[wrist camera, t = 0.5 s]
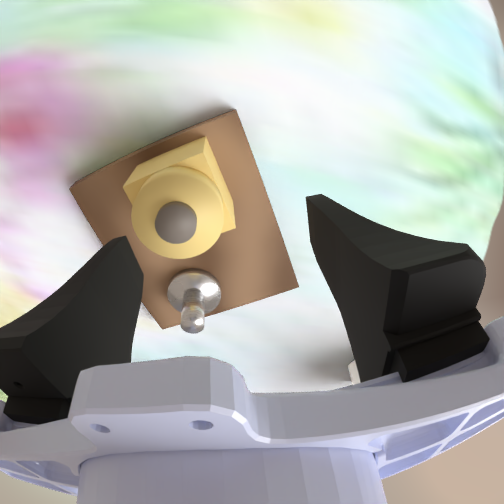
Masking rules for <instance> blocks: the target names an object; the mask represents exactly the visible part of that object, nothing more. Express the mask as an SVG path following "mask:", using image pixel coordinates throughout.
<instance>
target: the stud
mask: <svg viewBox="0 0 504 504" xmlns="http://www.w3.org/2000/svg"><path fill="white" fill-rule="evenodd" d="M167 297H168V300H169V302H170V304H171V305H172V306H173V307H174V308H175V309H176V310H177V311H179V312H181V324H180V325H181V328H182V329H183V330H184V331H185V332H188V333H198V332H200V331H202V330H203V328H204V314H207V313H209V312H211V311H213V310H214V309H215V308H216V307H217V306H218V304H219V302H220V299H221V287H220V283H219V281H218V280H217V278H216V277H215V276H214V275H213V274H211V273H210V272H208V271H206V270H203V269H198V268H188V269H184V270H181V271H179V272H177V273H176V274H175V275H174V276H173V277H172V278H171V279H170V281H169V285H168V291H167Z"/></svg>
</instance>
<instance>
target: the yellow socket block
mask: <svg viewBox="0 0 504 504" xmlns="http://www.w3.org/2000/svg"><path fill="white" fill-rule="evenodd" d="M123 189H124V191H125V193H126V195H127V196H128V198H129V200H130V202H131V204H132V212H131V219H132V225H133V228H134V231H135V233H136V235H137V237H138V238H139V240H140V241H141V242H142V243H143V244H144V245H145V246H146V247H147V248H148V249H150V250H151V251H153V252H154V253H156V254H158V255H161V256H164V257H167V258H173V259H186V258H191V257H195V256H197V255H200V254H202V253H204V252H205V251H207V250H208V249H209V248H211V247H212V246H213V245H214V244H215V242H216V241H217V240H218V238H219V236H220V234H221V233H224V232H226V231H229V230H232V229H235V228H236V225H235V216H234V207H233V200H232V198H231V195H230V193H229V190H228V188H227V186H226V183H225V181H224V178H223V176H222V174H221V171H220V169H219V166H218V164H217V162H216V159H215V157H214V154H213V152H212V150H211V147H210V145H209V142H208V140H207V138H206V136H205V137H202V138H199V139H197V140H194V141H192V142H190V143H187V144H185V145H182V146H180V147H177V148H175V149H173V150H170V151H168V152H166V153H164V154H161V155H159V156H157V157H154V158H152V159H150V160H148V161H146V162H143V163H141V164H139V165H137V167H136V168H135V170H134V171H133V172H132V174H131V175H130V177H129V178H128V180H127V181H126V183H125V184H124V186H123Z"/></svg>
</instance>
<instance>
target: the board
mask: <svg viewBox="0 0 504 504" xmlns="http://www.w3.org/2000/svg"><path fill="white" fill-rule="evenodd" d="M205 136H206V138H207V140H208V142H209V145H210V147H211V150H212V152H213V154H214V157H215V159H216V162H217V164H218V166H219V169H220V171H221V174H222V176H223V178H224V181H225V183H226V186H227V188H228V190H229V193H230V195H231V198H232V200H233V207H234V216H235V225H236V228H235V229H232V230H229V231H226V232H224V233H221V234H220V236H219V238H218V240H217V241H216V242H215V244H214V245H213V246H212V247H211V248H209V249H208V250H207V251H205V252H204V253H202V254H200V255H197V256H195V257H191V258H186V259H173V258H167V257H164V256H161V255H158V254H156V253H154V252H153V251H151V250H150V249H148V248H147V247H146V246H145V245H144V244H143V243H142V242H141V241H140V240H139V238H138V237H137V235H136V233H135V231H134V228H133V225H132V219H131V212H132V204H131V202H130V200H129V198H128V196H127V195H126V193H125V191H124V189H123V186H124V184H125V183H126V181H127V180H128V178H129V177H130V175H131V174H132V172H133V171H134V170H135V168H136V167H137V165H139V164H141V163H143V162H146V161H148V160H150V159H152V158H154V157H157V156H159V155H161V154H164V153H166V152H168V151H170V150H173V149H175V148H177V147H180V146H182V145H185V144H187V143H190V142H192V141H194V140H197V139H199V138H202V137H205ZM69 189H70V191H71V193H72V195H73V196H74V198H75V200H76V202H77V203H78V205H79V207H80V208H81V210H82V212H83V214H84V215H85V217H86V218H87V220H88V222H89V223H90V225H91V227H92V228H93V230H94V232H95V233H96V235H97V236H98V238H99V239H100V241H101V243H102V244H103V246H104V245H105V244H107V243H108V242H109V241H110V240H112V239H114V238H118V237H122V236H126V237H127V239H128V241H129V243H130V246H131V248H132V250H133V252H134V255H135V257H136V259H137V261H138V263H139V265H140V268H141V270H142V272H143V274H144V281H143V294H142V300H141V301H142V303H143V304H144V305H145V307H146V308H147V310H148V311H149V312H150V314H151V315H152V316H153V318H154V319H155V320H156V322H157V323H158V324H159V326H160V327H161V328H162V329H166V328H169V327H173V326H176V325H180V324H181V312H179V311H177V310H176V309H175V308H174V307H173V306H172V305H171V304H170V302H169V300H168V297H167V291H168V285H169V281H170V279H171V278H172V277H173V276H174V275H175V274H176V273H177V272H179V271H181V270H184V269H188V268H198V269H203V270H206V271H208V272H210V273H211V274H213V275H214V276H215V277H216V278H217V280H218V281H219V283H220V287H221V299H220V302H219V304H218V306H217V307H216V308H215V309H214V310H213V311H211V312H209V313H207V314H204V317H207V316H210V315H213V314H217V313H220V312H223V311H226V310H230V309H233V308H236V307H239V306H242V305H245V304H249V303H252V302H255V301H258V300H261V299H264V298H267V297H270V296H273V295H277V294H280V293H283V292H286V291H289V290H292V289H295V288H298V287H299V285H298V282H297V279H296V276H295V273H294V270H293V267H292V264H291V261H290V258H289V256H288V253H287V250H286V247H285V244H284V241H283V238H282V235H281V232H280V229H279V226H278V224H277V221H276V218H275V215H274V212H273V209H272V206H271V204H270V201H269V198H268V195H267V192H266V190H265V187H264V184H263V181H262V178H261V176H260V173H259V170H258V167H257V165H256V162H255V159H254V156H253V154H252V151H251V148H250V146H249V143H248V140H247V138H246V135H245V132H244V130H243V127H242V124H241V122H240V119H239V116H238V114H237V111H236V110H233V111H230V112H227V113H225V114H222V115H219V116H217V117H214V118H211V119H209V120H206V121H204V122H201V123H199V124H196V125H194V126H191V127H189V128H186V129H184V130H181V131H179V132H177V133H174V134H172V135H170V136H167V137H165V138H163V139H161V140H158V141H156V142H154V143H152V144H150V145H147V146H145V147H143V148H141V149H139V150H137V151H135V152H133V153H130V154H128V155H126V156H124V157H122V158H120V159H118V160H116V161H114V162H112V163H110V164H108V165H107V166H105V167H103V168H101V169H99V170H97V171H95V172H93V173H91V174H90V175H88V176H86V177H84V178H82V179H80V180H79V181H77V182H75V183H74V184H73V185H72V186H71V187H70V188H69Z"/></svg>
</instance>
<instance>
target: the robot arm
mask: <svg viewBox="0 0 504 504" xmlns="http://www.w3.org/2000/svg"><path fill="white" fill-rule="evenodd" d="M306 204H307V213H308V223H309V233H310V242H311V245H312V248H313V251H314V254H315V257H316V260H317V263H318V265H319V267H320V269H321V271H322V273H323V275H324V277H325V279H326V281H327V284H328V286H329V288H330V290H331V292H332V294H333V296H334V298H335V300H336V302H337V305H338V307H339V310H340V312H341V315H342V318H343V321H344V325H345V328H346V331H347V334H348V338H349V341H350V344H351V348H352V351H353V355H354V359H355V362H356V366H357V370H358V374H359V378H360V382H361V383H358V384H354V385H350V386H347V387H343V388H339V389H335V390H331V391H315V392H291V393H251V392H250V391H249V390H248V388H247V385H246V383H245V380H244V378H243V376H242V375H241V374H240V373H239V372H238V371H237V370H236V369H235V368H234V367H233V366H232V365H231V364H229V363H226V362H223V361H220V360H217V359H214V358H211V357H198V356H185V357H177V358H169V359H161V360H152V361H143V362H134V363H131V351H132V343H133V337H134V332H135V328H136V323H137V318H138V314H139V309H140V304H141V300H142V294H143V281H144V274H143V272H142V270H141V268H140V265H139V263H138V261H137V259H136V257H135V255H134V252H133V250H132V248H131V246H130V243H129V241H128V239H127V237H126V236H122V237H118V238H114V239H112V240H110V241H109V242H108V243H107V244H105V245H104V246H103V247H102V248H101V249H100V250H99V251H98V252H97V253H96V254H95V255H94V256H93V257H92V258H91V259H90V260H89V261H88V262H87V263H86V264H85V265H84V266H83V267H82V268H81V269H80V270H78V271H77V272H76V273H75V274H74V275H73V276H72V277H71V278H70V279H69V280H68V281H67V282H66V283H65V284H64V285H62V286H61V287H60V288H59V289H58V290H57V291H55V292H54V293H53V294H52V295H51V296H49V297H48V298H47V299H45V300H44V301H43V302H41V303H40V304H38V305H37V306H36V307H34V308H33V309H32V310H30V311H29V312H27V313H25V314H24V315H22V316H21V317H19V318H17V319H16V320H14V321H12V322H11V323H9V324H7V325H5V326H3V327H1V328H0V389H1V390H2V391H3V392H4V393H5V394H6V395H7V396H8V399H7V402H4V401H2V400H0V471H2V472H3V473H5V474H7V475H9V476H10V477H13V478H16V479H19V480H22V481H25V482H28V483H32V484H35V485H39V486H42V487H45V488H48V489H52V490H55V491H59V492H62V493H66V494H70V495H73V496H77V504H387V501H386V497H385V493H384V489H383V486H382V483H381V480H382V479H384V478H387V477H389V476H392V475H394V474H397V473H399V472H401V471H404V470H406V469H409V468H411V467H413V466H416V465H418V464H420V463H422V462H424V461H426V460H429V459H431V458H433V457H435V456H437V455H439V454H441V453H443V452H444V451H446V450H448V449H450V448H452V447H454V446H456V445H458V444H460V443H461V442H463V441H465V440H467V439H469V438H470V437H472V436H474V435H476V434H477V433H479V432H481V431H483V430H484V429H486V428H488V427H489V426H491V425H493V424H494V423H496V422H497V421H499V420H500V419H503V418H504V316H502V317H500V318H498V319H496V320H494V321H492V322H490V323H489V324H488V325H486V327H485V328H484V329H483V327H482V326H481V324H480V323H479V320H480V319H481V314H480V313H479V312H478V310H477V309H476V305H477V303H478V300H479V297H480V295H481V292H482V289H483V286H484V282H485V277H486V267H485V265H484V263H483V261H482V260H481V259H480V257H479V256H478V255H477V254H476V253H475V252H474V251H473V250H472V249H471V248H470V247H469V245H468V244H463V243H454V242H445V241H438V240H433V239H427V238H422V237H418V236H414V235H410V234H407V233H403V232H400V231H397V230H394V229H391V228H388V227H386V226H383V225H380V224H378V223H376V222H373V221H371V220H369V219H367V218H365V217H363V216H361V215H359V214H357V213H355V212H353V211H351V210H349V209H347V208H346V207H344V206H342V205H340V204H339V203H337V202H335V201H333V200H332V199H330V198H328V197H326V196H324V195H322V194H318V195H313V196H308V197H306Z"/></svg>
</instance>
